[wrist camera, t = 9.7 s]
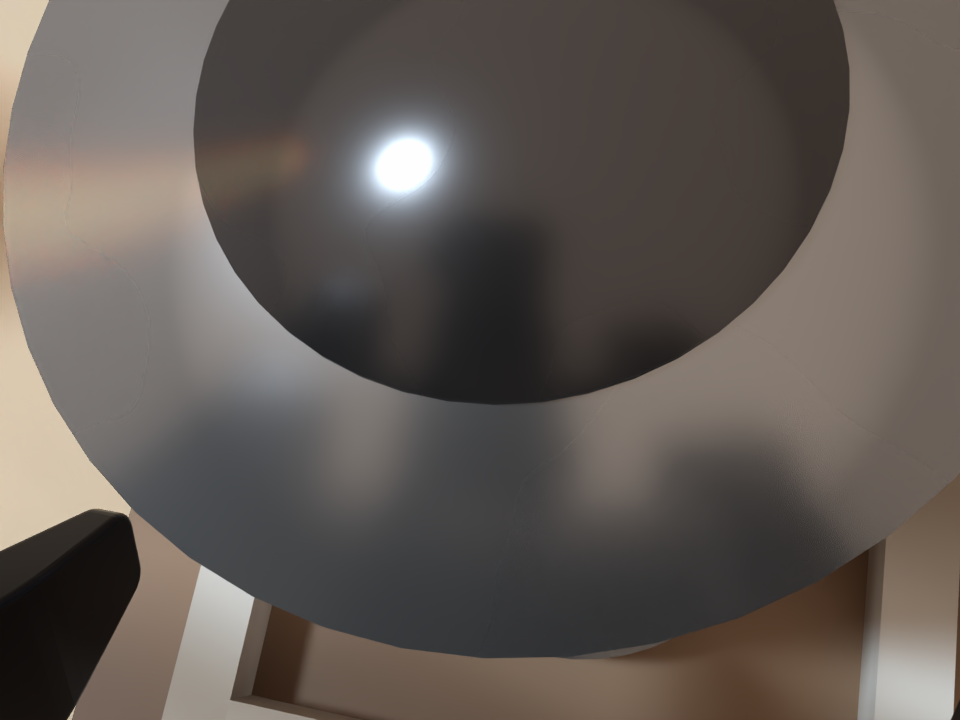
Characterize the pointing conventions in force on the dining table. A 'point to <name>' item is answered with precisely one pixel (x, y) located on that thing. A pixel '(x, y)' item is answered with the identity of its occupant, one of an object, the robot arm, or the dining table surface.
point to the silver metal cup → (499, 297)
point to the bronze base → (550, 680)
